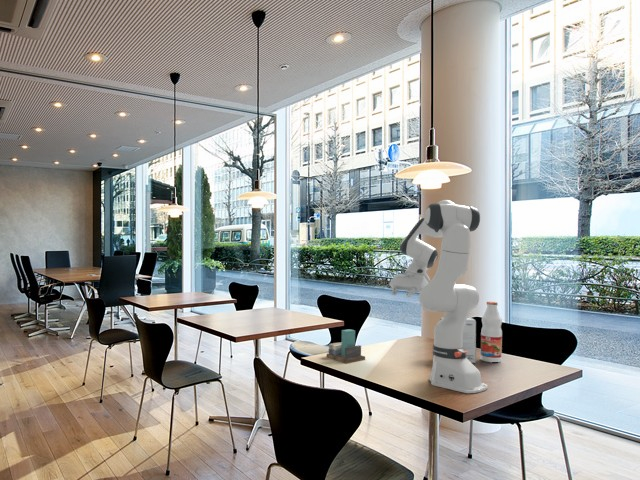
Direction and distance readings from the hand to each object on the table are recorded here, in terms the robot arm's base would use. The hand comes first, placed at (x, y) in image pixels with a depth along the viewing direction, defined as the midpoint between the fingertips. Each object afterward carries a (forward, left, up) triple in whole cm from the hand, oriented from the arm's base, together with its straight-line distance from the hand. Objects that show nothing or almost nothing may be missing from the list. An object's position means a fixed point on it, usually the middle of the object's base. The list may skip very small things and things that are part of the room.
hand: (400, 295), depth 221 cm
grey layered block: (+14, +22, -30) cm, 40 cm away
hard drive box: (-19, -20, -30) cm, 41 cm away
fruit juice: (-28, -34, -30) cm, 53 cm away
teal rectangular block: (+12, +22, -29) cm, 38 cm away
